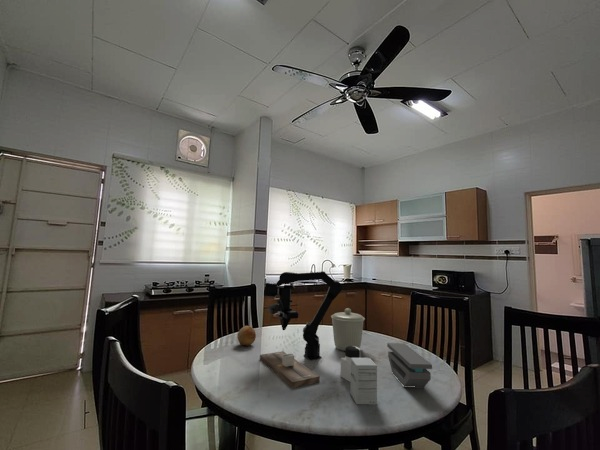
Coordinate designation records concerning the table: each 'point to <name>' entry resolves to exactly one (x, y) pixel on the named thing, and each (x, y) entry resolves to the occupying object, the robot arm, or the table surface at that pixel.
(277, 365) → the board
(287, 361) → the fader tab
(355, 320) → the canister
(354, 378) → the supplement box
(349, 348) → the medicine bottle
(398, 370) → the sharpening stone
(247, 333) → the onion
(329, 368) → the table surface
